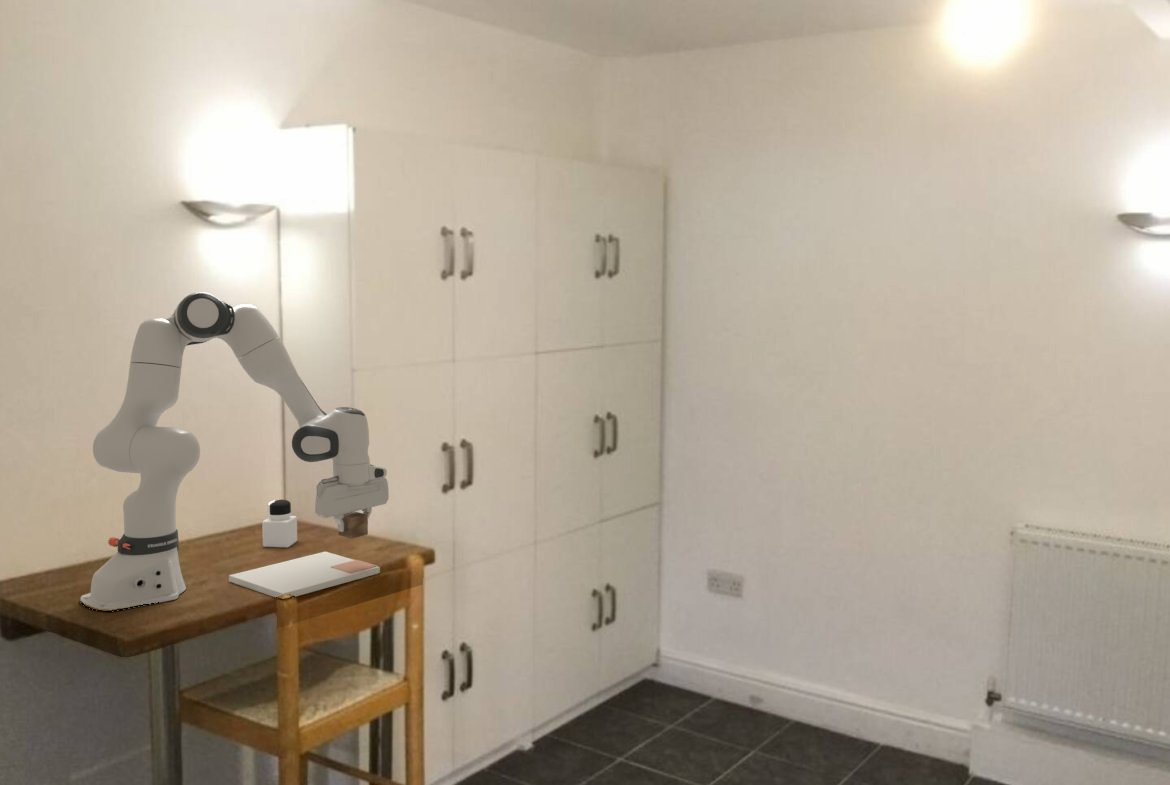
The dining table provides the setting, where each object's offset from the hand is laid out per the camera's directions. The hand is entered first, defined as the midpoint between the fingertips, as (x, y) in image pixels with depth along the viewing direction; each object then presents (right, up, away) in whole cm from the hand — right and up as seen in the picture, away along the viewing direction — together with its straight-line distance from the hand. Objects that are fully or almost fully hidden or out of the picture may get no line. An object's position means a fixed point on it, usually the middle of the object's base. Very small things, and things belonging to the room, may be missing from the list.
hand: (353, 528), depth 263 cm
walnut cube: (0, -2, 0) cm, 2 cm away
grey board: (-11, -12, -3) cm, 16 cm away
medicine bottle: (-26, -8, +27) cm, 38 cm away
